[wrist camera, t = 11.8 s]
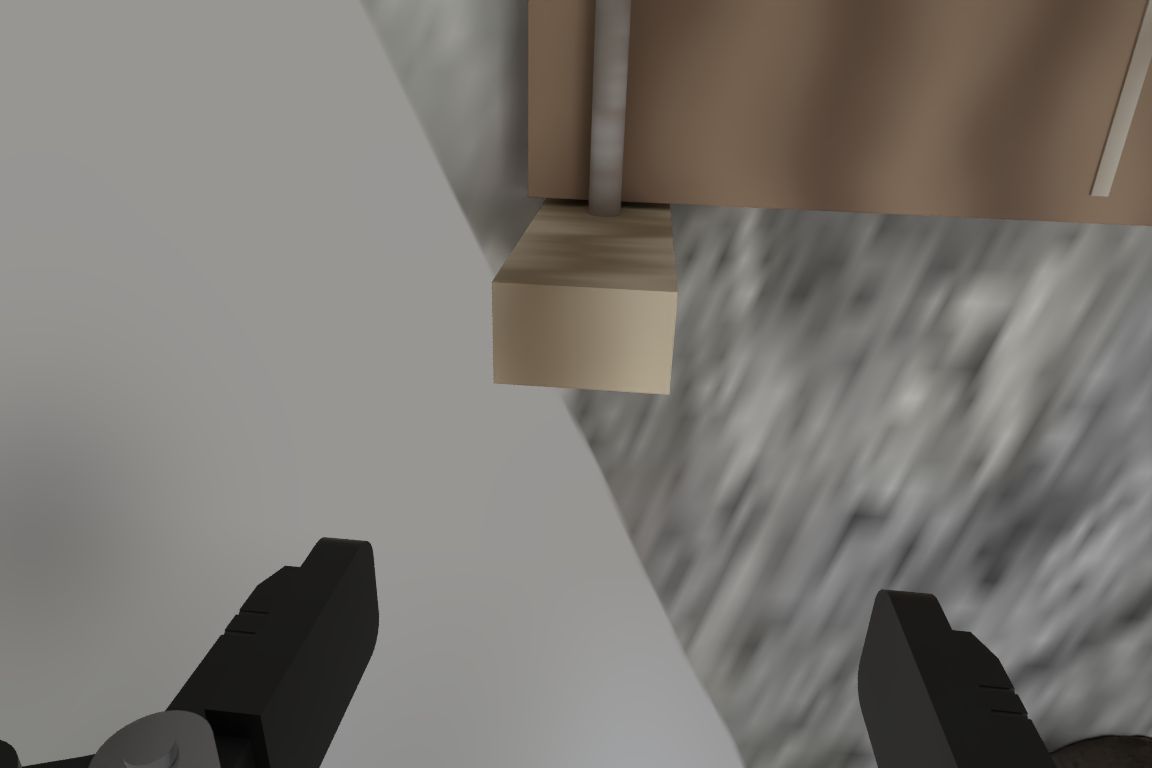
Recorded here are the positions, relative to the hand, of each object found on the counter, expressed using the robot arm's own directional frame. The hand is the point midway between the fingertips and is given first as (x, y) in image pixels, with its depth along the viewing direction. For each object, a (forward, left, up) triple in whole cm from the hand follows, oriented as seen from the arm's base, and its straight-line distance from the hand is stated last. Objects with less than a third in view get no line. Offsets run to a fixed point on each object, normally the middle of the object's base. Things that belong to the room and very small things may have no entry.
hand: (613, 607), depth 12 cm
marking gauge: (+1, -5, -22) cm, 23 cm away
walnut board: (-8, -8, -22) cm, 25 cm away
